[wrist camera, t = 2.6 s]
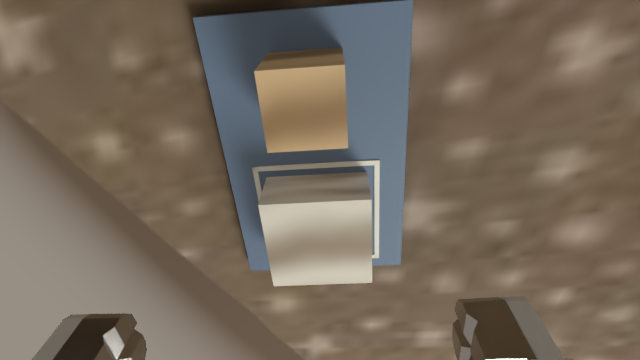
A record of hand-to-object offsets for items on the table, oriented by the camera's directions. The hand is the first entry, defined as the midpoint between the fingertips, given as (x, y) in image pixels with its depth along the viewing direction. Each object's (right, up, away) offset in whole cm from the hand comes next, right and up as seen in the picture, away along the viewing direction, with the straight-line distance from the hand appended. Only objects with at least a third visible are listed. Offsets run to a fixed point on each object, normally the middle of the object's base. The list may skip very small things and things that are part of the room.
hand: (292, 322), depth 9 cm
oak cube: (0, +10, +16) cm, 19 cm away
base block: (+1, +1, +22) cm, 22 cm away
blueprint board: (0, +5, +20) cm, 21 cm away
